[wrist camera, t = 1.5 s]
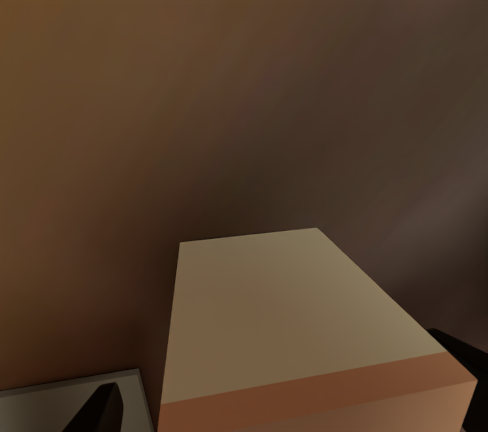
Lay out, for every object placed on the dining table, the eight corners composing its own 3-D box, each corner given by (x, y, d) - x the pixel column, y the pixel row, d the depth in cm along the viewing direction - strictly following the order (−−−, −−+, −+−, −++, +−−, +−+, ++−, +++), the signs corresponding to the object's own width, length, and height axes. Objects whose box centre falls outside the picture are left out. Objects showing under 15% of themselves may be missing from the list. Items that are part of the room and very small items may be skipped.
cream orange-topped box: (316, 227, 11) (478, 380, 5) (311, 332, 13) (420, 541, 6) (180, 242, 10) (154, 446, 4) (195, 351, 12) (194, 605, 6)
